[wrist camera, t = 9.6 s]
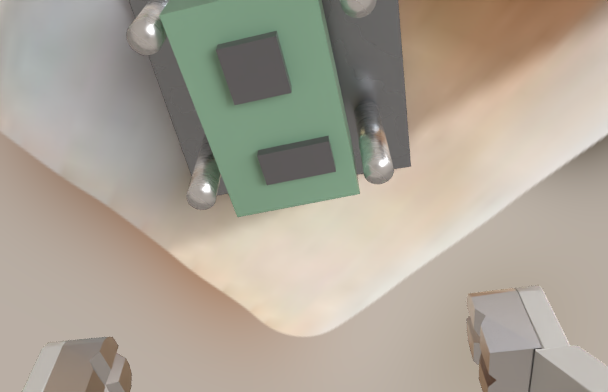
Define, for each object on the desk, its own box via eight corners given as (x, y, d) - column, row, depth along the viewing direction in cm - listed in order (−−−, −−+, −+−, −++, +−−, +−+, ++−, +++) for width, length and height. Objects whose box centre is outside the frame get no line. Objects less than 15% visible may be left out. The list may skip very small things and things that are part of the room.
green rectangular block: (178, -14, 24) (155, 20, 20) (311, -47, 23) (313, -19, 20) (244, 172, 30) (236, 225, 26) (353, 149, 29) (361, 201, 25)
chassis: (104, -90, 26) (48, -58, 20) (384, -148, 24) (409, -131, 19) (201, 188, 35) (182, 264, 29) (408, 157, 33) (430, 230, 28)
